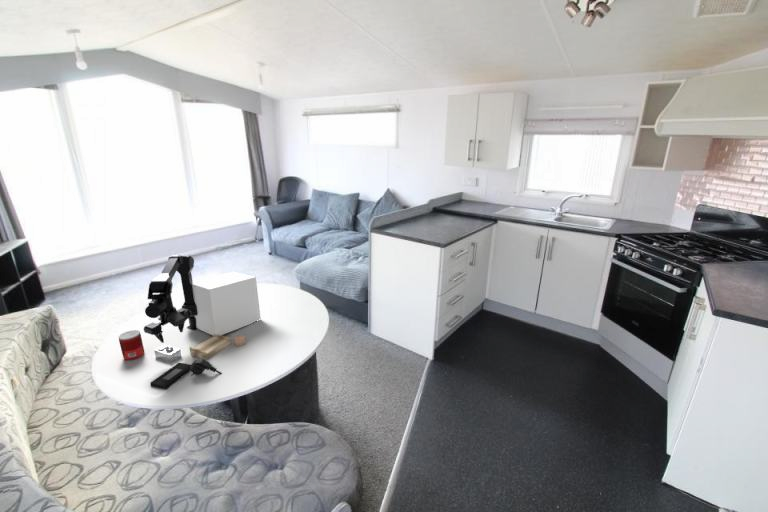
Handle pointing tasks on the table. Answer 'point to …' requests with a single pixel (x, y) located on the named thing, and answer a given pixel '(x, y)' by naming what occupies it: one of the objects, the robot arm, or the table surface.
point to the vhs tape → (171, 376)
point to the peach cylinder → (239, 340)
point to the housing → (167, 353)
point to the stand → (210, 346)
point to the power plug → (201, 367)
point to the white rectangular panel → (225, 302)
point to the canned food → (131, 345)
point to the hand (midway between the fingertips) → (172, 337)
